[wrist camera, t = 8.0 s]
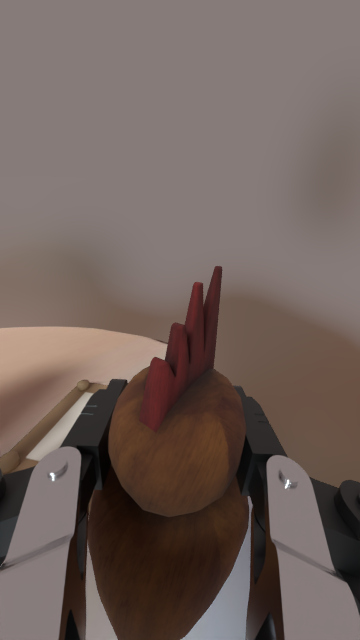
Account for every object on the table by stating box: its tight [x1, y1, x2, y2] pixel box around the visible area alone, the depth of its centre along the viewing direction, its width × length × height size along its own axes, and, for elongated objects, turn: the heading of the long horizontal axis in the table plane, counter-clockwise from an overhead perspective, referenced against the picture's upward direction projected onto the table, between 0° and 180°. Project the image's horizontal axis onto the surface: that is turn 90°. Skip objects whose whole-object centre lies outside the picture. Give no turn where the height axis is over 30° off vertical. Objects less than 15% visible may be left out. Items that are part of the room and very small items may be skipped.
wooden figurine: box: [87, 266, 249, 640], centre depth 8 cm, size 7×6×15 cm
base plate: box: [0, 380, 108, 512], centre depth 26 cm, size 16×16×2 cm
